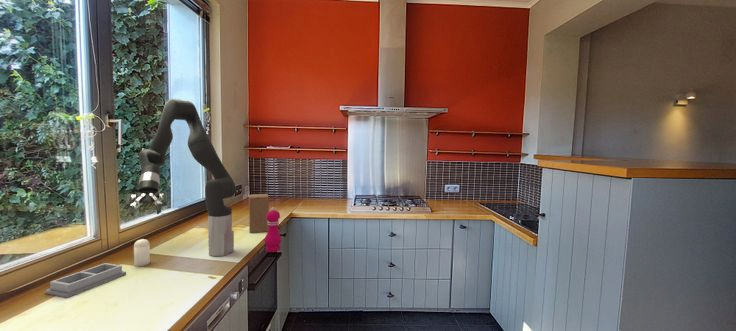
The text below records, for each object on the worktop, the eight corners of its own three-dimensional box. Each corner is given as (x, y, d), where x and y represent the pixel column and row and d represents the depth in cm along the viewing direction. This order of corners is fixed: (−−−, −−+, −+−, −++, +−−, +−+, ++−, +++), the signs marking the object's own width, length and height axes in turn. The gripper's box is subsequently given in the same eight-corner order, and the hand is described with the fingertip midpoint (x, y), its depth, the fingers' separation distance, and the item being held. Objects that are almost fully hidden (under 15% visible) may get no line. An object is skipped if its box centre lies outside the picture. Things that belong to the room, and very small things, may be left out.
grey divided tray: (126, 274, 102) (125, 265, 102) (67, 297, 86) (66, 286, 85) (106, 271, 104) (106, 261, 104) (45, 293, 88) (44, 282, 88)
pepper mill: (284, 248, 132) (284, 206, 131) (274, 253, 125) (274, 209, 124) (271, 246, 134) (271, 205, 133) (261, 251, 128) (261, 207, 126)
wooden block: (268, 231, 157) (268, 196, 156) (249, 233, 154) (249, 197, 152) (267, 227, 167) (267, 193, 165) (249, 228, 163) (249, 194, 162)
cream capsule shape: (152, 262, 113) (152, 238, 112) (140, 267, 108) (140, 241, 108) (143, 260, 114) (143, 236, 114) (131, 265, 109) (130, 240, 109)
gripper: (127, 179, 123) (122, 210, 114) (167, 178, 131) (165, 207, 121) (130, 189, 128) (125, 220, 119) (168, 188, 135) (166, 217, 126)
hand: (145, 214), depth 120 cm, fingers open, 8 cm apart
